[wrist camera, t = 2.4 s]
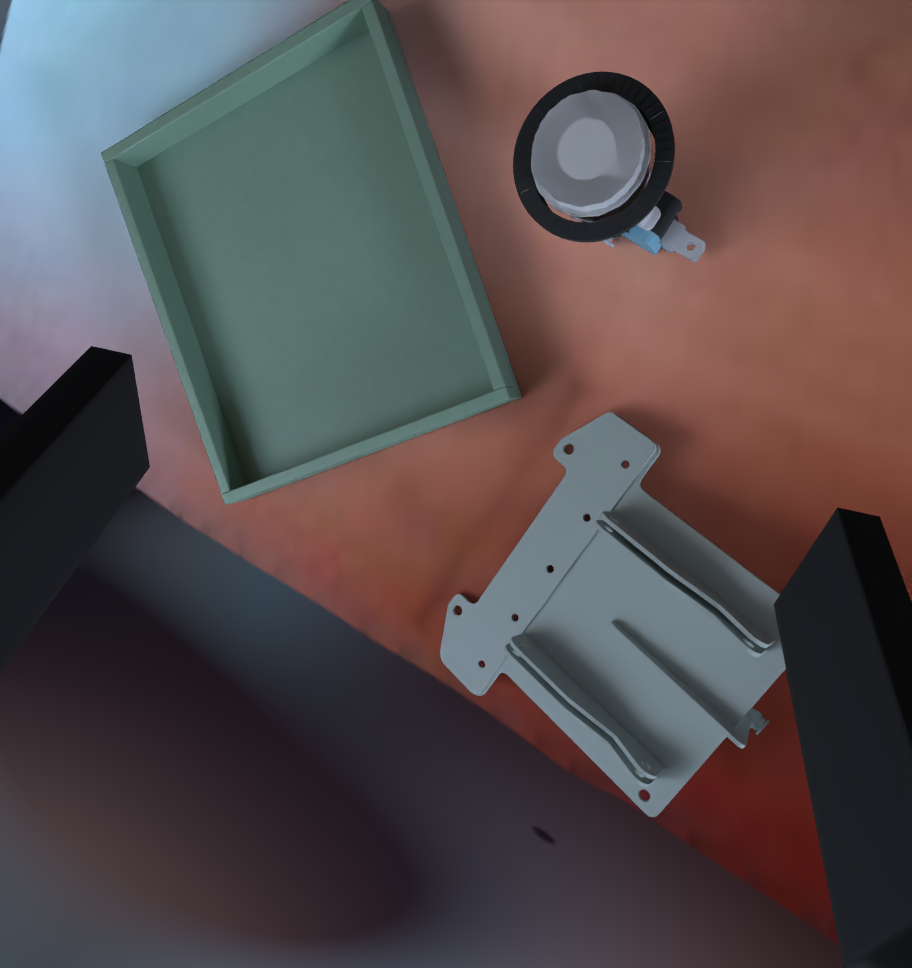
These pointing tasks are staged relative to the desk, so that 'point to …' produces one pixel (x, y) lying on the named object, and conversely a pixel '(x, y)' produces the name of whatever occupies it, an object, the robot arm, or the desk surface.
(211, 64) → the desk surface
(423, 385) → the tray
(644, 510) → the metal bracket
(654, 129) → the push button
